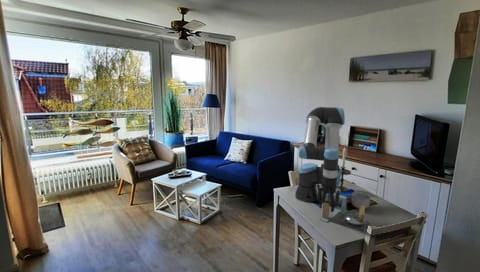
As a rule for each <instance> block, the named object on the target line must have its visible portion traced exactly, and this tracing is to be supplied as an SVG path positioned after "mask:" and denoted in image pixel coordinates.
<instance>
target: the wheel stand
mask: <svg viewBox="0 0 480 272" xmlns="http://www.w3.org/2000/svg"><path fill="white" fill-rule="evenodd" d="M339 222H340V224H343V225H346V226H348V227H352V228H354V229H357V230H359V231H362V230H363V229H364V228H365V226H367V225H368V223H369V221H368V220H366V219H365V223H364V224H363V225H353V224H350V223H348V222H347V221H346V220H345V217H343V218H342V219H341V220H340V221H339Z"/></svg>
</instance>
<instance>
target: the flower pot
mask: <svg viewBox="0 0 480 272" xmlns="http://www.w3.org/2000/svg"><path fill="white" fill-rule="evenodd" d="M323 190H324V189H323V187H322V195H323ZM334 193H335V194H336V190H335V191H334ZM326 200H327V201H330V195H329V193H328V192H327V194H326V198H325V201H326Z"/></svg>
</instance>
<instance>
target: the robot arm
mask: <svg viewBox="0 0 480 272" xmlns="http://www.w3.org/2000/svg"><path fill="white" fill-rule="evenodd" d="M345 117H346V116H345V111H344V109H343V108H342V107H336V106H335V107H332V106H331V107H330V106H329V107H327V106H325V107H323V106H319V107H316V108H314V109H312V110H311V111H310V112H308V114H307V116H306V119H305V123H306V128H305V134H304V138H303V145H300V146H299V148H298V159H299V158H300V159H303V160H311V161H323V162H322V163H321V164H320V166H318V164H317V163H314V162H308V163H303V164H301V165H300V166H299V171H298V183H297V184H298V186H297V187H296V188H297V189H296V191H295V193H294V194H295V195H294V197H295V198H296V199H297V200H299V201H300V202H301V201H302V202H305V203H307V202H308V203H313V202H316V201H318V202H319V203H320V208H321V213H322V212H323V202H324V201H325V198H326V194H327V192H328V193H329V195H330V202H331V206H329V217H331V216H332V212H334V207H336V206H338V207H339V205H338V203H339V200H340V199H339V196H340V195H341V193H342V192H341V190H339V189H337V186H340V182H341V181H340V179H341V173H342V168H340V167H341V166H340V165H339V158H340V150H339V145H340V144H339V142H340V129H341V128H343V125H345V119H346V118H345ZM320 124H321V125H322V124H323V126H324V128H325V140H324V142H325V143H324V147H317V142H318V141H317V140H318V133H319V126H320ZM322 188H323V189H324V190H323V195H322ZM335 190H336V196H335V201H334V191H335Z"/></svg>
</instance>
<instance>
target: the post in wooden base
mask: <svg viewBox="0 0 480 272" xmlns="http://www.w3.org/2000/svg"><path fill="white" fill-rule="evenodd" d="M341 204H342V200H341V199H339V203H338V206H339V205H340V206H341ZM329 206H331V202H330V201H327V200H326V201H324V202H323V212H322V211H321V217H324V218H327V219H329V218H330V217H329ZM336 207H337V206H336ZM334 208H335V207H334Z"/></svg>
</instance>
